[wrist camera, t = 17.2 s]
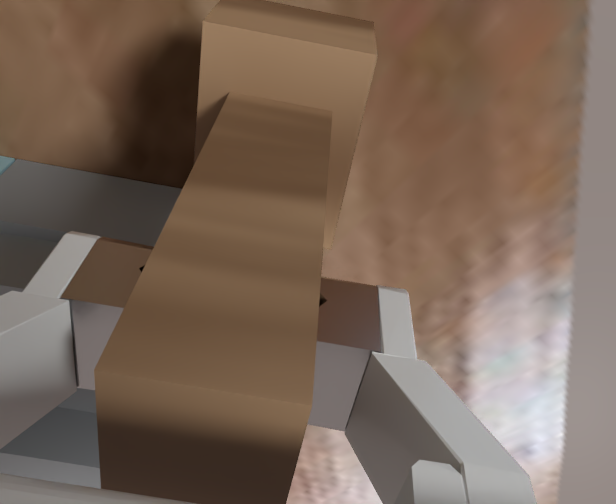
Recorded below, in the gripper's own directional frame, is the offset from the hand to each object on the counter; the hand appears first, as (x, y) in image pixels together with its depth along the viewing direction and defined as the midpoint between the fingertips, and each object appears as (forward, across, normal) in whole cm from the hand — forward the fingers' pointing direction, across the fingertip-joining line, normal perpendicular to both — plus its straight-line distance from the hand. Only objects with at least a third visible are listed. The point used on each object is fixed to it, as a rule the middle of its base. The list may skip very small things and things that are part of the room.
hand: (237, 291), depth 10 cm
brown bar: (+9, 0, 0) cm, 9 cm away
